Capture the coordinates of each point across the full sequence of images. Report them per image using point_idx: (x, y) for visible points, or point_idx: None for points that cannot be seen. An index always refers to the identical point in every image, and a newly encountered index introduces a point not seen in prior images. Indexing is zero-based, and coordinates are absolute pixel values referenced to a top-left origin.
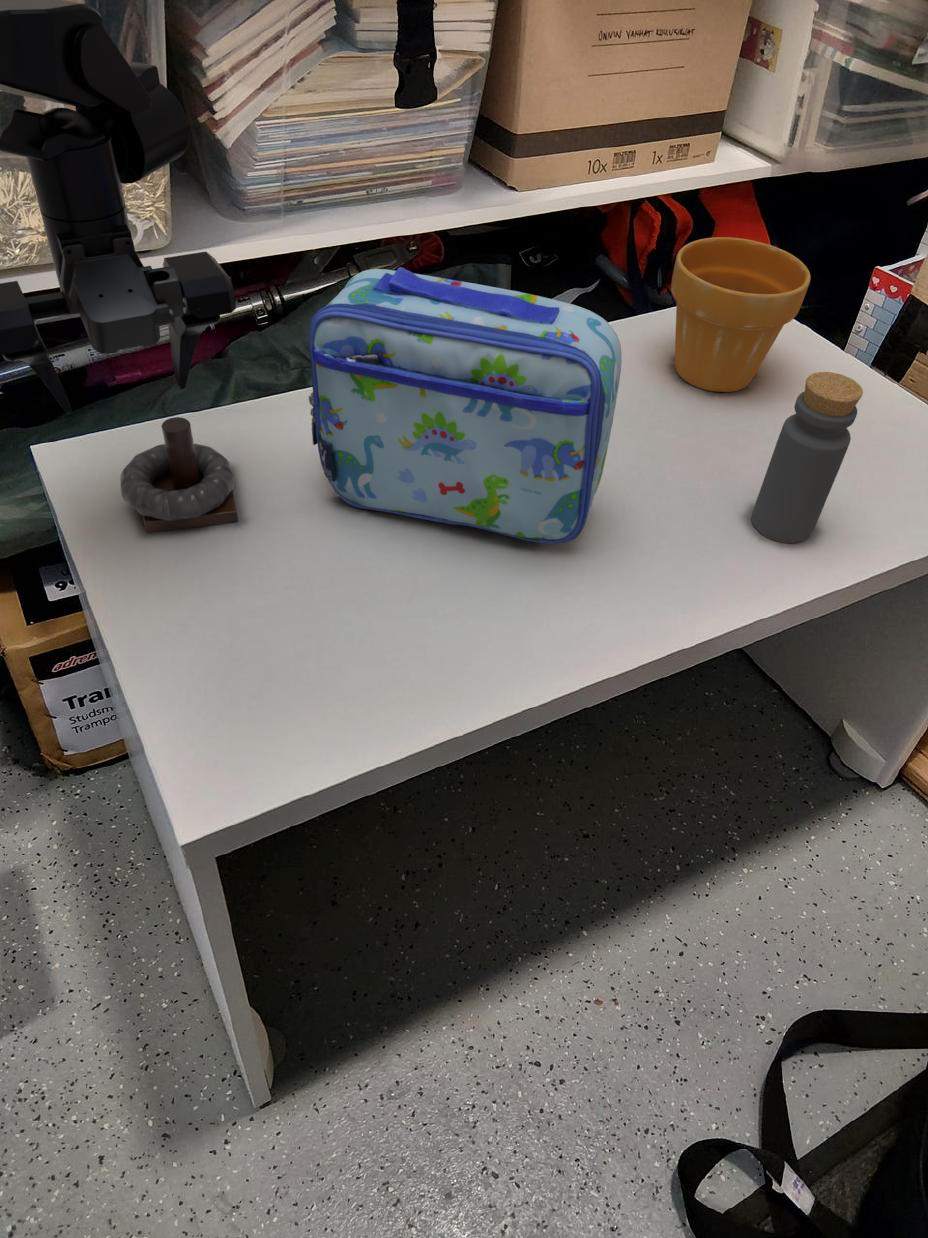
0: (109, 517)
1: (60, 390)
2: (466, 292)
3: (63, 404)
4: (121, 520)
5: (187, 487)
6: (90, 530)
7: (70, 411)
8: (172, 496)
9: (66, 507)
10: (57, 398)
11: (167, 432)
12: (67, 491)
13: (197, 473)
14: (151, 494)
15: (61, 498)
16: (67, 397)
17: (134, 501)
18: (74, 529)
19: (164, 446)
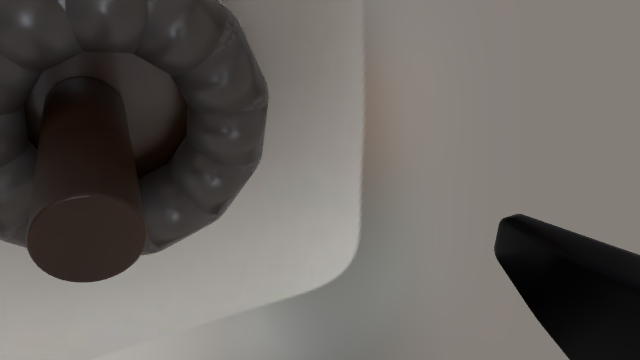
0: (283, 74)
1: (624, 269)
2: None
3: (556, 232)
4: (260, 56)
5: (81, 88)
6: (328, 38)
7: (510, 219)
8: (130, 1)
9: (355, 125)
10: (601, 244)
11: (126, 200)
12: (344, 172)
13: (42, 123)
14: (197, 30)
15: (358, 154)
16: (563, 254)
17: (243, 35)
18: (356, 50)
19: None
